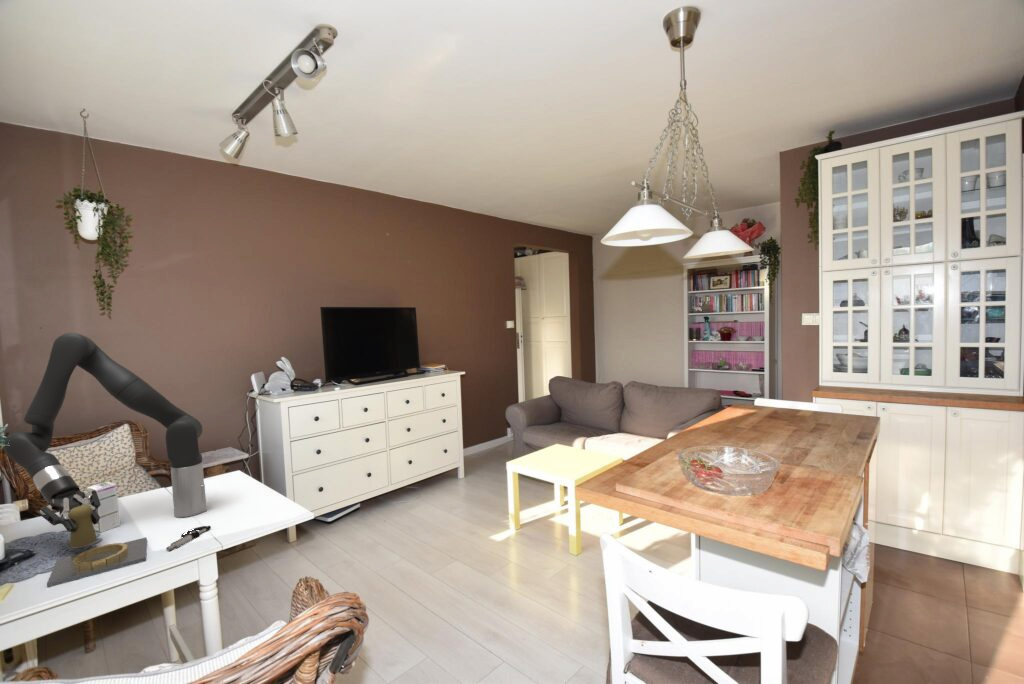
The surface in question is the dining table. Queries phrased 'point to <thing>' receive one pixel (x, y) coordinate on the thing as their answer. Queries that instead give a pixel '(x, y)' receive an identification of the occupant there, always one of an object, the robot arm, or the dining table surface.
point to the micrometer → (187, 537)
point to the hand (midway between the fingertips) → (86, 526)
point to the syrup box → (106, 506)
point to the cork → (82, 526)
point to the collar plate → (98, 561)
